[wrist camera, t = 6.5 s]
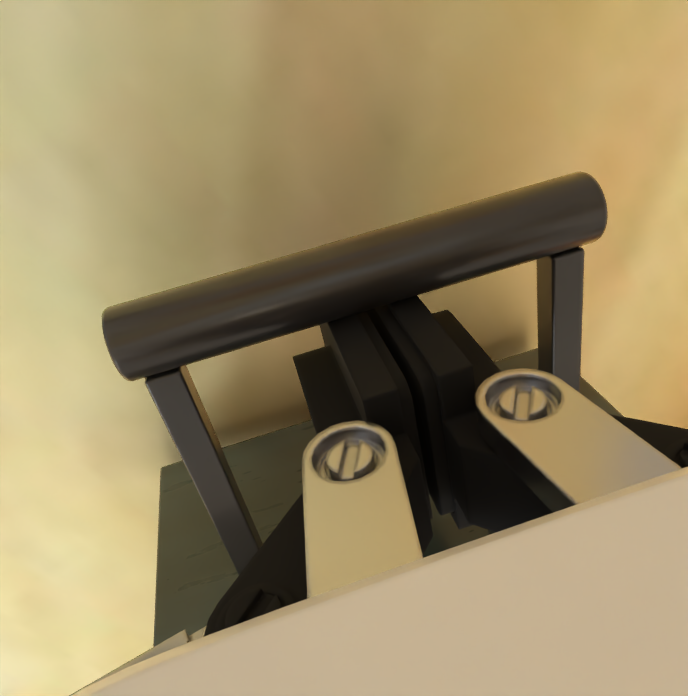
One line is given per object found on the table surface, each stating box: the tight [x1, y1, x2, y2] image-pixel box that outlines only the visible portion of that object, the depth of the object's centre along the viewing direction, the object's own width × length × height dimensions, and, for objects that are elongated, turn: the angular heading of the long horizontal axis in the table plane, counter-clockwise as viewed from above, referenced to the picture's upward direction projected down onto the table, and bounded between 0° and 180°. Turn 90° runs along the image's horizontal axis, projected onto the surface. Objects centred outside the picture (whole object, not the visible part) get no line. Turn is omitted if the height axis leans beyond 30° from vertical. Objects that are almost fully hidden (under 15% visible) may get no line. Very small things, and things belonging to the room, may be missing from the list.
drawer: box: [102, 172, 624, 647], centre depth 15 cm, size 19×11×7 cm, turn 11°
